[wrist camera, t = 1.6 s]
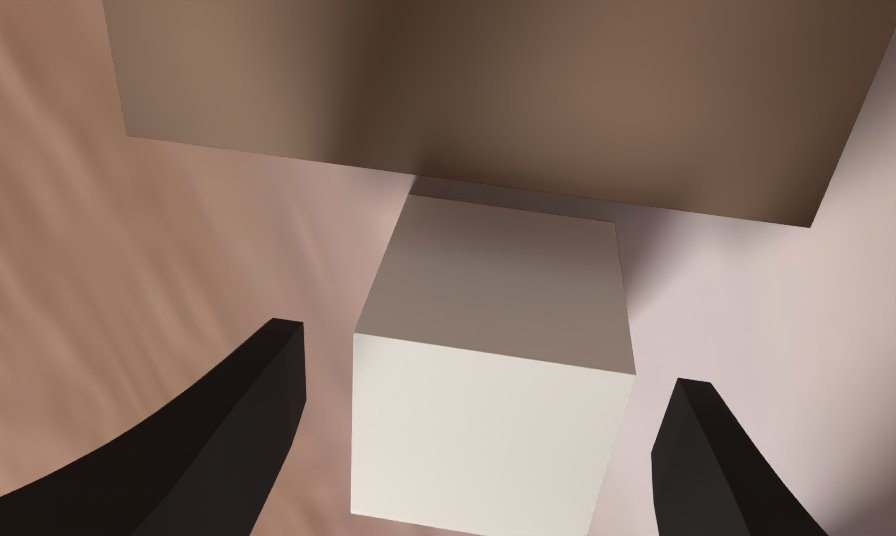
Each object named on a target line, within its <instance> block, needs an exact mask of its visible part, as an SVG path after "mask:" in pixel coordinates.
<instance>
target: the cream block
mask: <svg viewBox="0 0 896 536" xmlns="http://www.w3.org/2000/svg"><path fill="white" fill-rule="evenodd" d="M635 377H636V371H635V364H634V357H633V350H632V343H631V336H630V329H629V322H628V315H627V308H626V301H625V294H624V287H623V280H622V273H621V266H620V259H619V252H618V245H617V238H616V231H615V224H614V223H611V222H604V221H597V220H589V219H582V218H575V217H568V216H561V215H553V214H546V213H539V212H532V211H525V210H517V209H510V208H503V207H496V206H489V205H482V204H474V203H467V202H460V201H453V200H446V199H438V198H431V197H424V196H417V195H410V194H408V196H407V198H406V201H405V203H404V206H403V209H402V211H401V214H400V216H399V219H398V221H397V224H396V226H395V229H394V231H393V234H392V236H391V239H390V242H389V244H388V247H387V249H386V252H385V254H384V257H383V259H382V262H381V264H380V267H379V269H378V272H377V275H376V277H375V280H374V282H373V285H372V287H371V290H370V292H369V295H368V297H367V300H366V302H365V305H364V308H363V310H362V313H361V315H360V318H359V320H358V323H357V325H356V328H355V330H354V338H353V403H352V469H351V513H353V514H359V515H365V516H371V517H377V518H383V519H389V520H395V521H401V522H407V523H413V524H419V525H425V526H431V527H437V528H443V529H449V530H455V531H461V532H467V533H473V534H479V535H485V536H586V535H587V532H588V529H589V526H590V522H591V519H592V516H593V513H594V509H595V506H596V503H597V500H598V497H599V493H600V490H601V487H602V484H603V480H604V477H605V474H606V471H607V468H608V464H609V461H610V458H611V455H612V451H613V448H614V445H615V442H616V439H617V435H618V432H619V429H620V426H621V422H622V419H623V416H624V413H625V409H626V406H627V403H628V400H629V397H630V393H631V390H632V387H633V384H634V380H635Z"/></svg>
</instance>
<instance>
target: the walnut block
mask: <svg viewBox="0 0 896 536" xmlns="http://www.w3.org/2000/svg"><path fill="white" fill-rule="evenodd" d="M102 1H103V6H104V12H105V18H106V23H107V29H108V34H109V40H110V45H111V51H112V57H113V62H114V68H115V73H116V79H117V84H118V90H119V96H120V101H121V107H122V112H123V118H124V123H125V129H126V135H127V136H132V137H140V138H147V139H155V140H162V141H169V142H177V143H184V144H192V145H199V146H206V147H214V148H221V149H229V150H236V151H244V152H251V153H258V154H266V155H273V156H281V157H288V158H295V159H303V160H310V161H318V162H325V163H332V164H340V165H347V166H355V167H362V168H369V169H377V170H384V171H392V172H399V173H406V174H414V175H421V176H429V177H436V178H443V179H451V180H458V181H466V182H473V183H480V184H488V185H495V186H503V187H510V188H517V189H525V190H532V191H540V192H547V193H554V194H562V195H569V196H577V197H584V198H591V199H599V200H606V201H614V202H621V203H629V204H636V205H643V206H651V207H658V208H666V209H673V210H680V211H688V212H695V213H703V214H710V215H717V216H725V217H732V218H740V219H747V220H754V221H762V222H769V223H777V224H784V225H791V226H799V227H806V228H810V227H811V225H812V223H813V220H814V218H815V216H816V213H817V211H818V209H819V206H820V204H821V202H822V199H823V197H824V194H825V192H826V190H827V187H828V185H829V183H830V180H831V178H832V176H833V173H834V171H835V169H836V166H837V164H838V161H839V159H840V157H841V154H842V152H843V150H844V147H845V145H846V143H847V140H848V138H849V135H850V133H851V131H852V128H853V126H854V124H855V121H856V119H857V117H858V114H859V112H860V110H861V107H862V105H863V102H864V100H865V98H866V95H867V93H868V91H869V88H870V86H871V84H872V81H873V79H874V77H875V74H876V72H877V69H878V67H879V65H880V62H881V60H882V58H883V55H884V53H885V51H886V48H887V46H888V44H889V41H890V39H891V36H892V34H893V32H894V29H895V27H896V0H102Z"/></svg>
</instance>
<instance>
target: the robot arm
mask: <svg viewBox="0 0 896 536" xmlns="http://www.w3.org/2000/svg"><path fill="white" fill-rule="evenodd" d="M305 402H306V376H305V351H304V326H303V322H298V321H291V320H284V319H277V318H272V319H271V320H269V321H268V322H267V323H266V324H264V325H263V326H262V327H261V328H260V329H259V330H257V331H256V332H255V333H254V334H253V335H252V336H251V337H249V338H248V339H247V340H246V341H245V342H244V343H243V344H241V345H240V346H239V347H238V348H237V349H236V350H234V351H233V352H232V353H231V354H230V355H229V356H227V357H226V358H225V359H224V360H223V361H222V362H220V363H219V364H218V365H217V366H215V367H214V368H213V369H212V370H210V371H209V372H208V373H207V374H206V375H204V376H203V377H202V378H201V379H199V380H198V381H197V382H196V383H194V384H193V385H192V386H191V387H189V388H188V389H187V390H185V391H184V392H183V393H181V394H180V395H178V396H177V397H176V398H174V399H173V400H172V401H170V402H169V403H168V404H166V405H165V406H164V407H162V408H161V409H159V410H158V411H157V412H155V413H154V414H152V415H151V416H149V417H148V418H146V419H145V420H143V421H142V422H141V423H139V424H137V425H136V426H134V427H133V428H131V429H130V430H128V431H127V432H125V433H123V434H122V435H120V436H119V437H117V438H115V439H114V440H112V441H110V442H109V443H107V444H105V445H104V446H102V447H100V448H98V449H96V450H94V451H93V452H91V453H89V454H87V455H85V456H83V457H81V458H79V459H78V460H76V461H74V462H72V463H70V464H68V465H66V466H64V467H63V468H61V469H59V470H57V471H55V472H53V473H51V474H49V475H47V476H45V477H43V478H41V479H39V480H36V481H34V482H32V483H30V484H28V485H26V486H24V487H22V488H19V489H17V490H15V491H12V492H10V493H8V494H6V495H3V496H1V497H0V536H249V535H250V533H251V531H252V529H253V527H254V525H255V523H256V521H257V519H258V516H259V514H260V512H261V510H262V508H263V506H264V504H265V502H266V499H267V497H268V495H269V493H270V491H271V489H272V487H273V485H274V482H275V480H276V478H277V476H278V474H279V472H280V470H281V467H282V465H283V463H284V461H285V459H286V457H287V454H288V452H289V450H290V448H291V446H292V443H293V440H294V437H295V434H296V431H297V428H298V425H299V422H300V418H301V415H302V412H303V409H304V406H305ZM651 461H652V484H653V500H654V508H655V514H656V520H657V525H658V531H659V536H828V535H827V534H826V532H825V531H824V530H823V529H822V528H821V527H820V526H819V525H818V524H817V522H816V521H815V520H814V519H813V518H812V517H811V516H810V514H809V513H808V512H807V511H806V510H805V508H804V507H803V506H802V505H801V504H800V502H799V501H798V500H797V499H796V498H795V497H794V495H793V494H792V493H791V492H790V491H789V489H788V488H787V487H786V486H785V484H784V483H783V482H782V481H781V479H780V478H779V477H778V475H777V474H776V473H775V471H774V470H773V469H772V467H771V466H770V465H769V463H768V462H767V461H766V460H765V458H764V457H763V456H762V454H761V453H760V452H759V450H758V449H757V447H756V446H755V445H754V443H753V442H752V441H751V439H750V438H749V436H748V435H747V433H746V432H745V431H744V429H743V428H742V426H741V425H740V424H739V422H738V421H737V419H736V418H735V416H734V415H733V414H732V412H731V411H730V409H729V408H728V406H727V405H726V403H725V402H724V401H723V399H722V398H721V396H720V395H719V393H718V392H717V391H716V389H715V388H714V386H713V385H712V384H711V383H710V382H704V381H697V380H690V379H683V378H677V381H676V384H675V387H674V390H673V393H672V395H671V398H670V401H669V404H668V407H667V409H666V412H665V415H664V418H663V421H662V424H661V426H660V429H659V432H658V435H657V438H656V441H655V443H654V446H653V449H652V452H651Z"/></svg>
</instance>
